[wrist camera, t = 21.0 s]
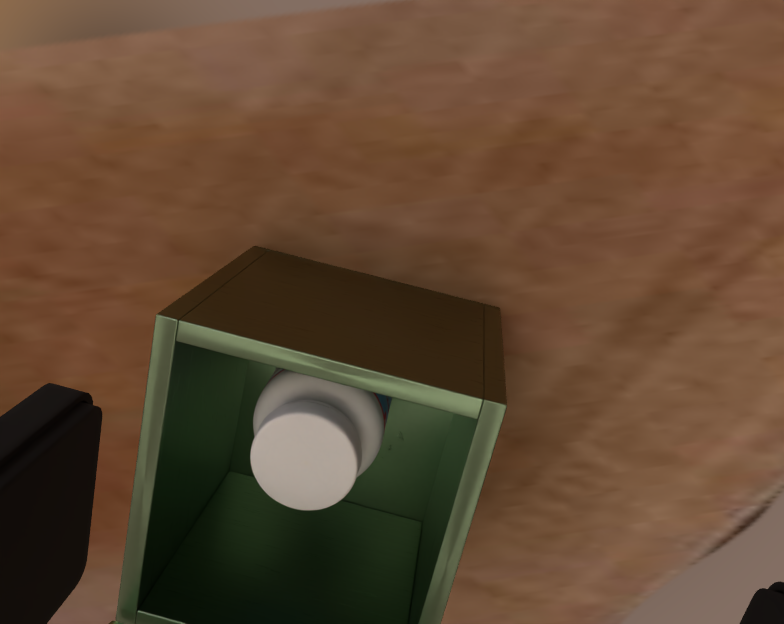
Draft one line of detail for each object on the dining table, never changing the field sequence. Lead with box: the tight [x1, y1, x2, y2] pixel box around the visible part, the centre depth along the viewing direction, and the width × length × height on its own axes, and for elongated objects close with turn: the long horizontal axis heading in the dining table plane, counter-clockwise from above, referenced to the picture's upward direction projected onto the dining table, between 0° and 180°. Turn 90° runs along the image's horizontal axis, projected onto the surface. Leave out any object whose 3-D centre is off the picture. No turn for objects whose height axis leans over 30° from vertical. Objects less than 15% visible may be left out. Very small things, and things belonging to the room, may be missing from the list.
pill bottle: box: [250, 368, 392, 510], centre depth 36 cm, size 6×6×11 cm
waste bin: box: [116, 246, 507, 624], centre depth 37 cm, size 15×14×13 cm
